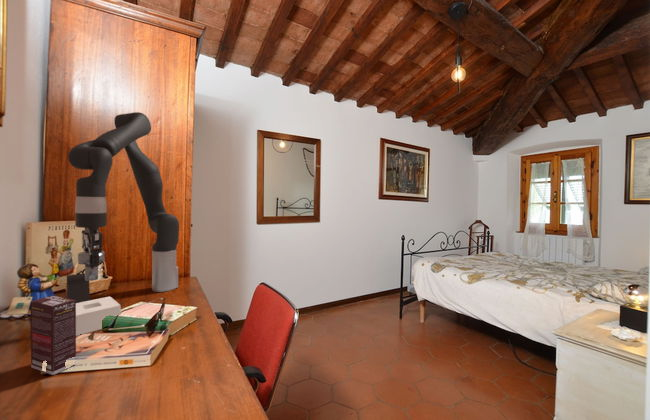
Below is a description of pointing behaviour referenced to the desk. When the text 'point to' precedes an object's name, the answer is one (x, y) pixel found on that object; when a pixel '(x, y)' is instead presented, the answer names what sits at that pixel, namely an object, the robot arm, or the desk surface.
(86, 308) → the block
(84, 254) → the grey mushroom knob
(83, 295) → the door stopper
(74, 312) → the supplement box
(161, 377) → the desk surface
